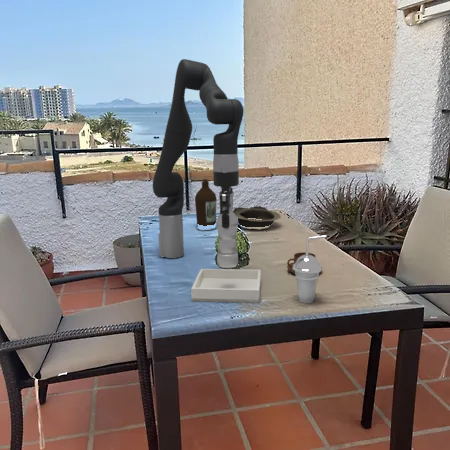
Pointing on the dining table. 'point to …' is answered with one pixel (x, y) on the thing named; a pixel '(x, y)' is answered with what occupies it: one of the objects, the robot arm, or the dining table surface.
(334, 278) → the dining table surface
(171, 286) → the dining table surface
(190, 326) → the dining table surface
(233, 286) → the tray
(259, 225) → the stone bowl
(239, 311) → the dining table surface
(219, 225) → the plastic bottle
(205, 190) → the olive oil
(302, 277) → the cup with straw
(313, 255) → the cup and saucer
